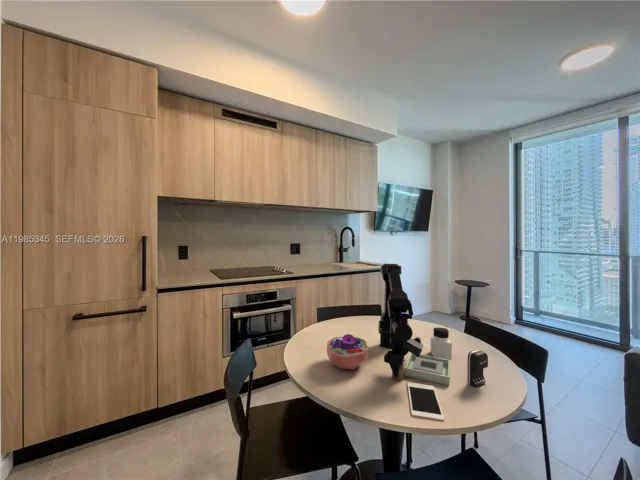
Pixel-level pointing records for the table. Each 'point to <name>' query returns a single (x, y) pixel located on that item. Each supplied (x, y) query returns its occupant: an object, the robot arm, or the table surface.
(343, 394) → the table surface
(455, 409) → the table surface
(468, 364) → the battery charger
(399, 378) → the peg
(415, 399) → the cell phone
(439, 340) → the medicine bottle
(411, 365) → the tray
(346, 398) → the table surface
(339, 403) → the table surface
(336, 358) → the cell model
